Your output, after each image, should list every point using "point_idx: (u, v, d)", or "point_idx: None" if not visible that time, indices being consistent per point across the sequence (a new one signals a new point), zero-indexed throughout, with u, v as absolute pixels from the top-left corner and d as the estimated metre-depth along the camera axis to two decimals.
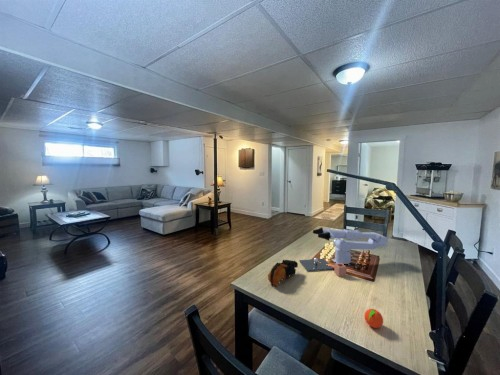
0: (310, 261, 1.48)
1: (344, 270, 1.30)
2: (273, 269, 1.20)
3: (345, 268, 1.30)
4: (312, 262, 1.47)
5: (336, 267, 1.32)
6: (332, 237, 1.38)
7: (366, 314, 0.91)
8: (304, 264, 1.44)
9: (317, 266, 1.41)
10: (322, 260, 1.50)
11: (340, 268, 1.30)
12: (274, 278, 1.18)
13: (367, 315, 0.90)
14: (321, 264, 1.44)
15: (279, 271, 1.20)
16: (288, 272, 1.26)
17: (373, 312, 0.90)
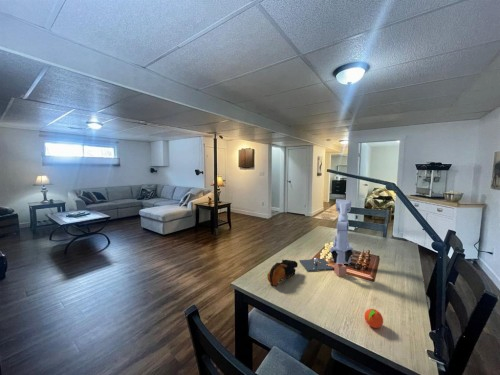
0: (310, 261, 1.48)
1: (344, 270, 1.30)
2: (272, 269, 1.20)
3: (345, 268, 1.30)
4: (312, 262, 1.47)
5: (336, 267, 1.32)
6: None
7: (366, 314, 0.91)
8: (304, 264, 1.44)
9: (317, 266, 1.41)
10: (322, 260, 1.50)
11: (340, 268, 1.30)
12: (273, 278, 1.18)
13: (367, 315, 0.90)
14: (321, 264, 1.44)
15: (278, 271, 1.20)
16: (288, 272, 1.26)
17: (373, 312, 0.90)
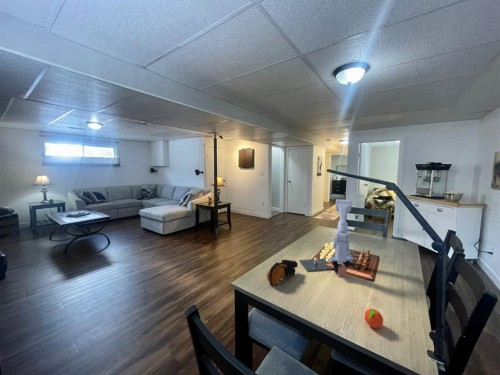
0: (310, 261, 1.48)
1: (344, 270, 1.30)
2: (272, 269, 1.20)
3: (345, 268, 1.30)
4: (312, 262, 1.47)
5: None
6: None
7: (366, 314, 0.91)
8: (304, 264, 1.44)
9: (317, 266, 1.41)
10: (322, 260, 1.50)
11: (340, 268, 1.30)
12: (273, 278, 1.19)
13: (367, 315, 0.90)
14: (321, 264, 1.44)
15: (278, 271, 1.21)
16: (287, 272, 1.26)
17: (373, 312, 0.90)
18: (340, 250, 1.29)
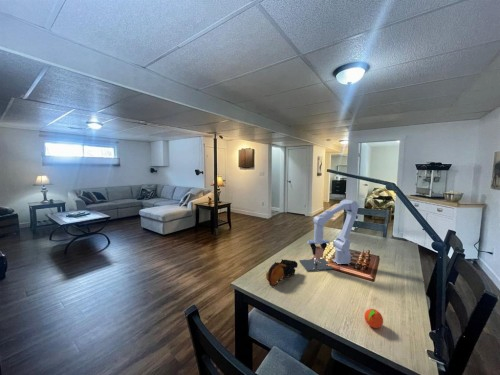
0: (310, 261, 1.48)
1: (321, 252, 1.40)
2: (271, 268, 1.21)
3: (322, 250, 1.40)
4: (312, 262, 1.47)
5: None
6: None
7: (366, 314, 0.91)
8: (304, 264, 1.44)
9: (317, 266, 1.41)
10: (322, 260, 1.50)
11: (317, 250, 1.39)
12: (272, 277, 1.19)
13: (367, 315, 0.90)
14: (321, 264, 1.44)
15: (277, 270, 1.21)
16: (287, 272, 1.27)
17: (373, 312, 0.90)
18: (314, 232, 1.41)
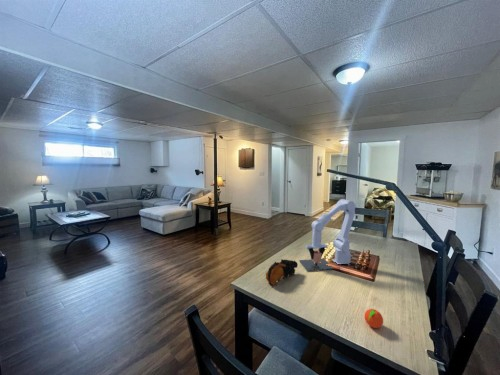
0: (310, 261, 1.48)
1: (319, 256, 1.41)
2: (271, 268, 1.21)
3: (320, 254, 1.41)
4: (312, 262, 1.47)
5: None
6: None
7: (366, 314, 0.91)
8: (304, 264, 1.44)
9: (317, 266, 1.41)
10: (322, 260, 1.50)
11: (315, 254, 1.41)
12: (271, 277, 1.19)
13: (367, 315, 0.90)
14: (321, 264, 1.44)
15: (277, 270, 1.21)
16: (286, 272, 1.27)
17: (373, 312, 0.90)
18: (312, 236, 1.42)
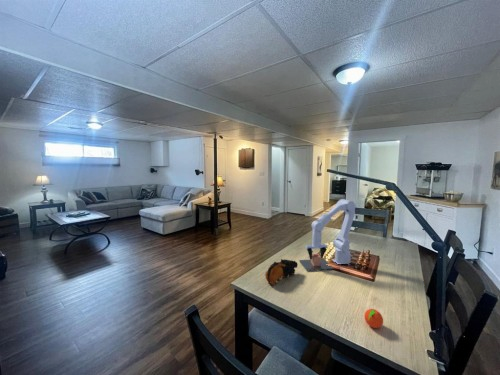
0: (310, 261, 1.48)
1: (319, 260, 1.42)
2: (270, 268, 1.21)
3: (320, 258, 1.41)
4: None
5: (312, 257, 1.44)
6: None
7: (366, 314, 0.91)
8: (304, 264, 1.44)
9: (317, 266, 1.41)
10: (322, 260, 1.50)
11: (315, 258, 1.41)
12: (271, 277, 1.19)
13: (367, 315, 0.90)
14: (321, 264, 1.44)
15: (276, 270, 1.21)
16: (286, 272, 1.27)
17: (373, 312, 0.90)
18: (312, 236, 1.42)
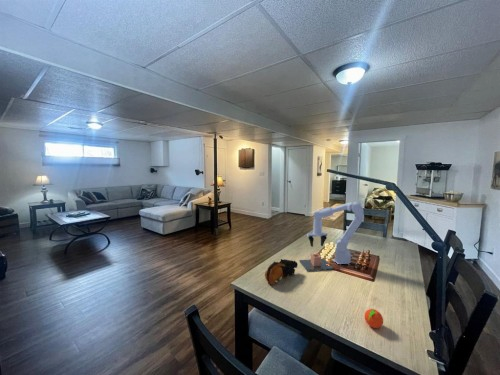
0: (310, 261, 1.48)
1: (319, 260, 1.42)
2: (269, 268, 1.22)
3: (320, 258, 1.41)
4: None
5: (312, 257, 1.44)
6: None
7: (366, 314, 0.91)
8: (304, 264, 1.44)
9: (317, 266, 1.41)
10: (322, 260, 1.50)
11: (315, 258, 1.41)
12: (270, 276, 1.20)
13: (367, 315, 0.90)
14: (321, 264, 1.44)
15: (275, 270, 1.21)
16: (286, 272, 1.27)
17: (373, 312, 0.90)
18: None
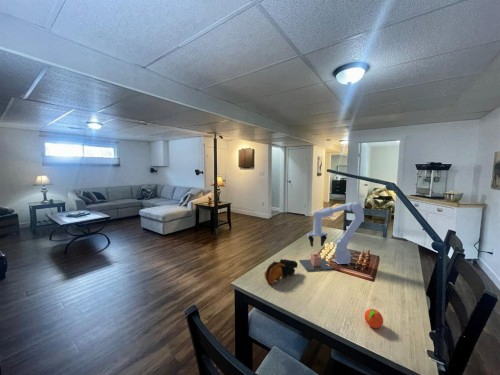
0: (310, 261, 1.48)
1: (319, 260, 1.42)
2: (269, 267, 1.22)
3: (320, 258, 1.41)
4: None
5: (312, 257, 1.44)
6: None
7: (366, 314, 0.91)
8: (304, 264, 1.44)
9: (317, 266, 1.41)
10: (322, 260, 1.50)
11: (315, 258, 1.41)
12: (269, 276, 1.20)
13: (367, 315, 0.90)
14: (321, 264, 1.44)
15: (275, 270, 1.22)
16: (286, 272, 1.27)
17: (373, 312, 0.89)
18: None
